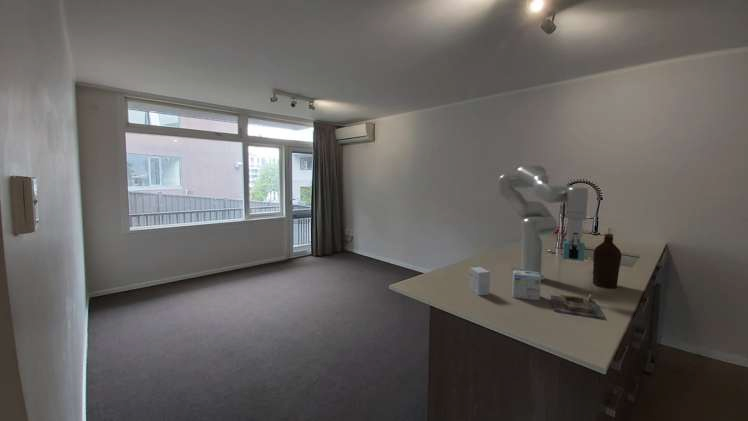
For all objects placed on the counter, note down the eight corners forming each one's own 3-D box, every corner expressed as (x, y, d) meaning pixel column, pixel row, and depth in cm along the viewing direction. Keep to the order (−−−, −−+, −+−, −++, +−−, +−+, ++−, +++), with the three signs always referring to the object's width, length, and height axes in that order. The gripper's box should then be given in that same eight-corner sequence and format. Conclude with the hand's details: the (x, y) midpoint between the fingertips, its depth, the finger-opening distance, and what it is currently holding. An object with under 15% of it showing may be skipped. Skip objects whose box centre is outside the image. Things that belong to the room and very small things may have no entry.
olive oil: (624, 289, 145) (629, 236, 142) (601, 289, 145) (605, 236, 142) (607, 281, 155) (611, 232, 152) (586, 281, 155) (590, 232, 152)
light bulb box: (537, 295, 138) (539, 271, 137) (540, 301, 132) (541, 276, 130) (511, 292, 142) (512, 269, 140) (512, 297, 135) (513, 273, 134)
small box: (489, 294, 138) (490, 271, 137) (478, 295, 137) (479, 272, 136) (479, 288, 146) (480, 266, 145) (469, 289, 145) (469, 267, 144)
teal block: (563, 258, 136) (564, 243, 135) (562, 256, 140) (563, 241, 139) (583, 261, 133) (584, 245, 132) (582, 258, 136) (583, 242, 136)
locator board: (554, 311, 122) (555, 302, 121) (550, 296, 136) (551, 288, 136) (604, 319, 115) (605, 309, 115) (594, 303, 129) (595, 294, 129)
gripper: (564, 213, 143) (562, 251, 145) (566, 217, 129) (563, 260, 131) (584, 214, 140) (581, 253, 142) (588, 218, 125) (585, 263, 127)
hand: (572, 256), depth 136 cm, fingers closed on teal block, 4 cm apart
